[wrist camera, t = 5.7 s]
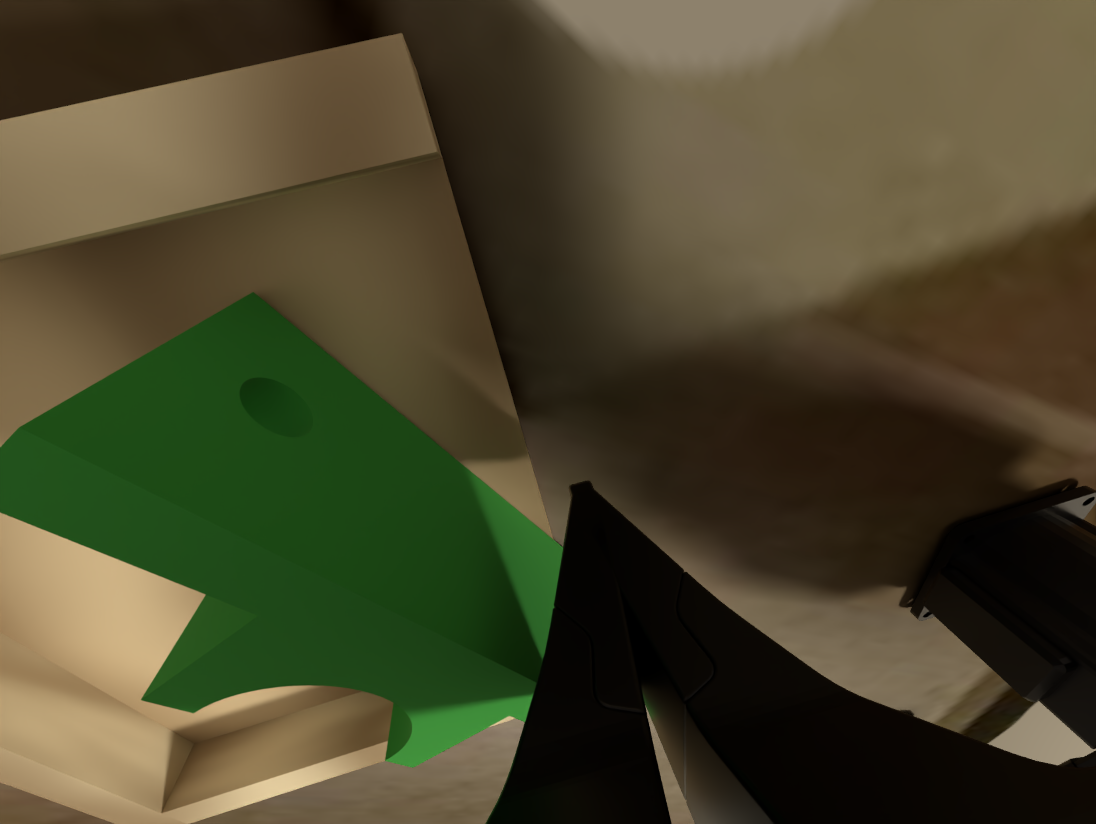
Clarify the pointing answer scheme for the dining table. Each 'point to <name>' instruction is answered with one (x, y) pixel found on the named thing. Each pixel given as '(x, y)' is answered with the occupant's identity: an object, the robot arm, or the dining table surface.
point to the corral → (172, 308)
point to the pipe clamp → (296, 530)
